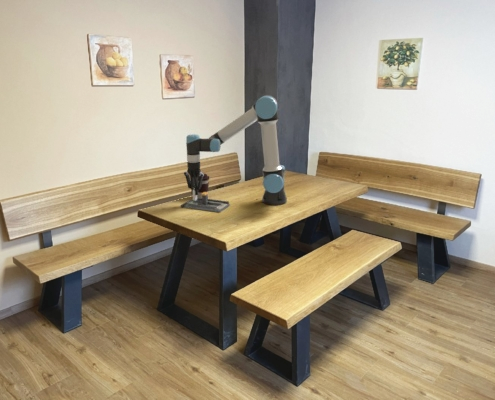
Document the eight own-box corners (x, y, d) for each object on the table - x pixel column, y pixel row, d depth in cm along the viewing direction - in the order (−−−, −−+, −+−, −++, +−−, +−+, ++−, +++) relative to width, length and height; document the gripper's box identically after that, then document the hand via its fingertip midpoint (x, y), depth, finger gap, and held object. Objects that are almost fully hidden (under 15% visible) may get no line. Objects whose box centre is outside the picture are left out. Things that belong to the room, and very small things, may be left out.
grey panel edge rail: (195, 201, 259) (195, 198, 259) (183, 207, 247) (183, 205, 247) (193, 201, 260) (192, 198, 260) (181, 207, 248) (181, 204, 247)
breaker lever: (208, 203, 250) (208, 192, 248) (205, 205, 247) (205, 194, 245) (204, 203, 251) (204, 191, 249) (201, 204, 248) (201, 193, 246)
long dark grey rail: (229, 203, 255) (229, 200, 255) (227, 204, 253) (227, 202, 252) (195, 199, 264) (195, 196, 263) (193, 200, 261) (192, 197, 261)
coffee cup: (207, 199, 262) (206, 176, 258) (192, 198, 264) (191, 175, 260) (211, 195, 272) (211, 173, 267) (197, 194, 274) (196, 172, 269)
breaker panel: (229, 206, 250) (229, 202, 250) (220, 212, 239) (219, 208, 238) (191, 201, 260) (191, 197, 259) (180, 207, 248) (180, 203, 248)
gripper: (206, 161, 245) (207, 199, 252) (187, 159, 250) (188, 197, 257) (200, 163, 238) (201, 202, 245) (180, 161, 243) (182, 200, 250)
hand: (195, 199), depth 251 cm, fingers closed
